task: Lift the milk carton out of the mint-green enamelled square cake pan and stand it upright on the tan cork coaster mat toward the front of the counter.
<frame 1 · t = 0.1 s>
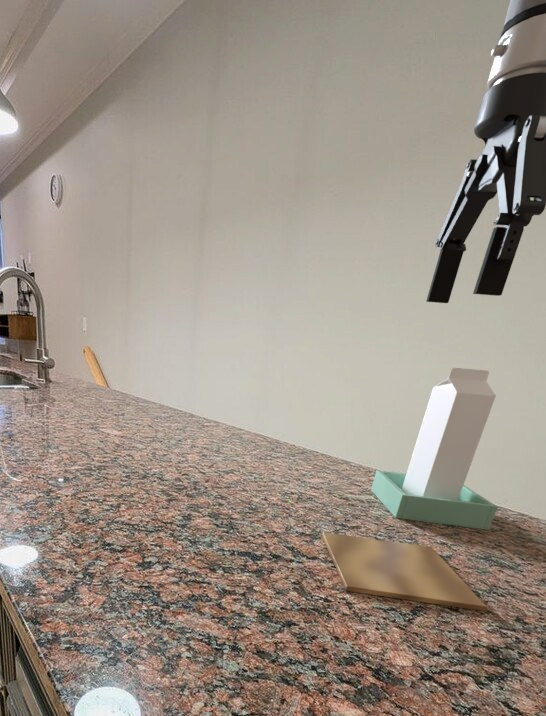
hand: (459, 299, 57), 31 cm above the table, tool pointing down, fingers open, 13 cm apart
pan: (424, 508, 75), on the table
cork mat: (392, 568, 53), on the table
milk: (424, 507, 75), resting on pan
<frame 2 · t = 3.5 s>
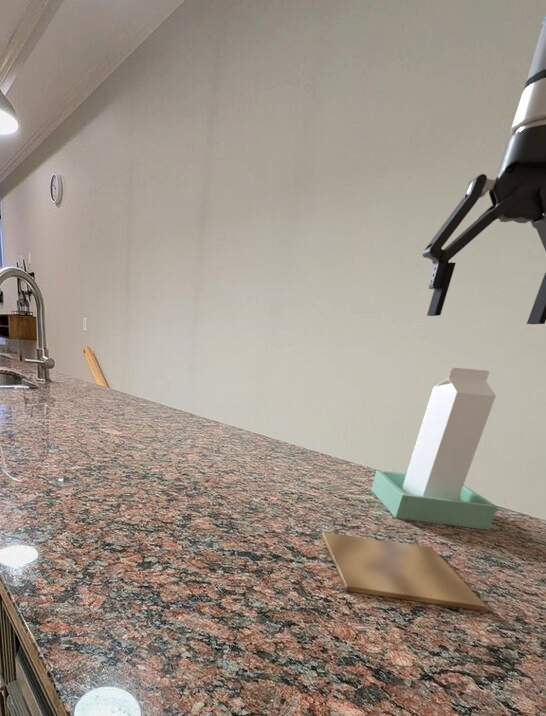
hand: (483, 320, 63), 29 cm above the table, tool pointing down, fingers open, 13 cm apart
nothing on the table moved.
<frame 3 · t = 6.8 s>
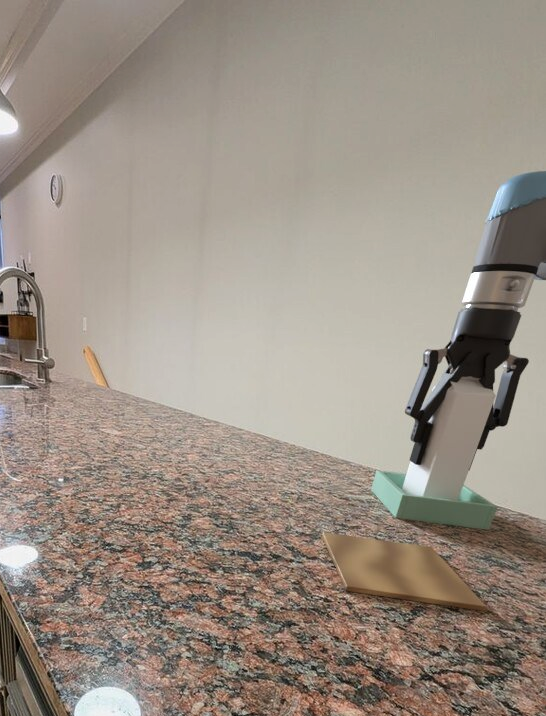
hand: (438, 465, 72), 7 cm above the table, tool pointing down, fingers closed on milk, 7 cm apart
milk: (424, 507, 75), resting on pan, touching gripper
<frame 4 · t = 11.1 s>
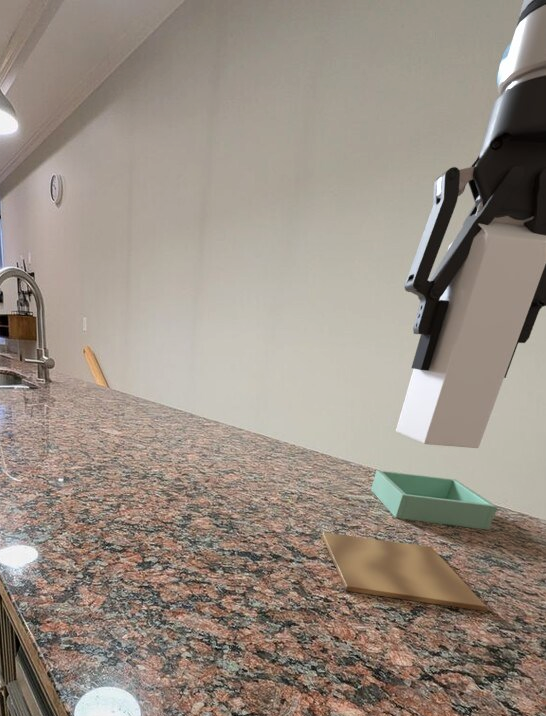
hand: (456, 372, 46), 22 cm above the table, tool pointing down, fingers closed on milk, 7 cm apart
milk: (434, 441, 49), point 15 cm above the table, touching gripper
when the fingers open (8 cm above the table, at t = 15.5 s): milk stays where it is, resting on cork mat.
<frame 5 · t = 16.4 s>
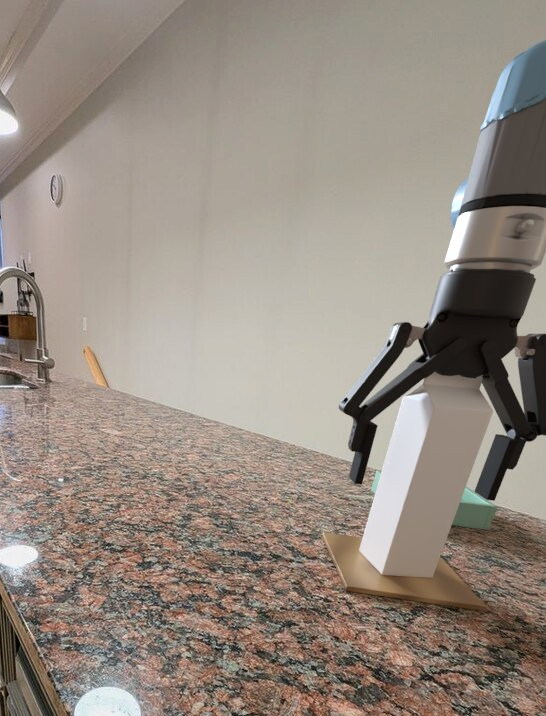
hand: (418, 488, 49), 10 cm above the table, tool pointing down, fingers open, 13 cm apart
milk: (393, 565, 53), resting on cork mat
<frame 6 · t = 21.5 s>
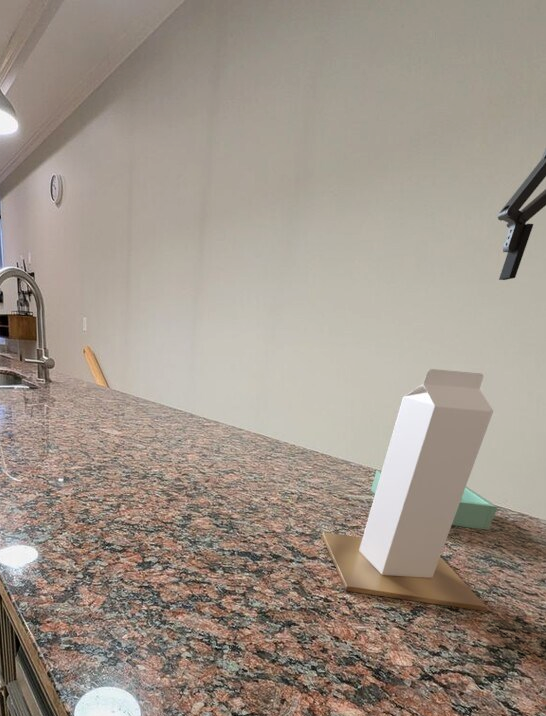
nothing on the table moved.
at the end: milk inside the target area on the cork mat (0.0 cm from its centre), point 0.4 cm above the cork mat's base; milk tilted 0°; milk touching cork mat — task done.
